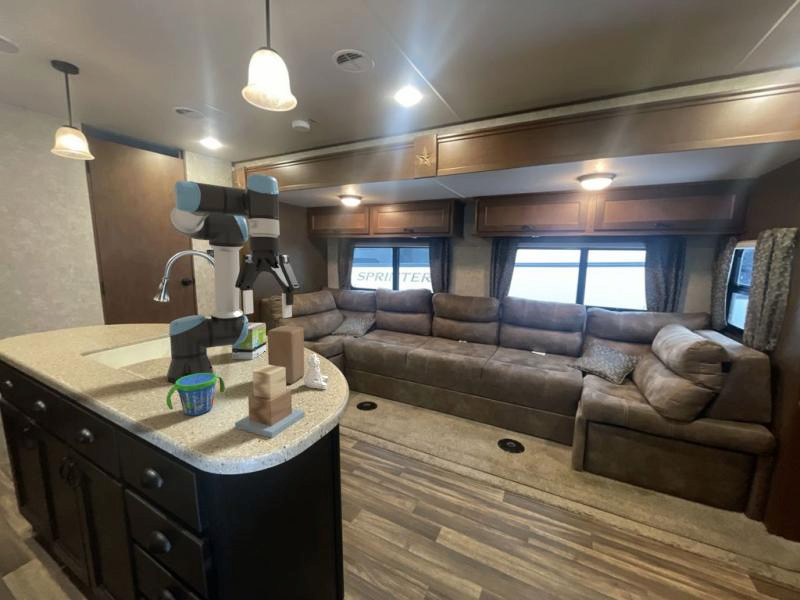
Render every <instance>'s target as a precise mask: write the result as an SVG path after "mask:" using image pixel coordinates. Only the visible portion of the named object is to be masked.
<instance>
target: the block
mask: <svg viewBox="0 0 800 600" xmlns="http://www.w3.org/2000/svg"><path fill="white" fill-rule="evenodd" d="M266 335H267V356H268V357H267V358H268V361H267V363H268V365H274V366H280V367H285V368H286V384H290V385H292V384H294V383H295V382H297V381H298V380H300V379H301V378H303V377H305V344H304V343H305V342H304V341H305V338H304V336H305V335H304V327H302V326H293V325H280V326H278V327H274V328H272V329H269V330H267V332H266Z"/></svg>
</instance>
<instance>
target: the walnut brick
mask: <svg viewBox="0 0 800 600" xmlns="http://www.w3.org/2000/svg"><path fill="white" fill-rule="evenodd" d="M247 398H248V401H247V403H248V415H249V420H250V421H254V422H258V423H262V424H266V425H269V426H273V425H274V424H276V423H277V422H279V421H281V420H282V419H284V418H285V417H287V416H289V415H290V414H292V409H293V405H292V403H293V401H292V390H291V389H287V388H286V391H285V392H284V393H282V394H280V395H278V396H276V397H274V398H272V399H268V398H263V397H259V396H254V393H252V394H250V395H248V396H247Z"/></svg>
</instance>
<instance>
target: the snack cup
mask: <svg viewBox="0 0 800 600" xmlns="http://www.w3.org/2000/svg"><path fill="white" fill-rule="evenodd" d="M217 379H218V380H219V392H220V393H224V392H225V390H226V385H225V381H224V379H223V378H222V377H221V376H219V375H216V374H215V373H213V374H212V373H198V374H192V375H188V376H185V377H182V378H180V379H178V380H177V381H176V383H174V385H173V386H172V387H170V389H169V391H168V394H167V395H166V405H167V407H168V409H169V410H174V407H173V404H172V399H171V398H172V395H173V394H174V393H175V392H176V391H177V392H178V396H179V398H180V405H181V407H182V411H183V413H184V415H187V416H199V415H203V414H205V413H208V412H211V411H212V409H213V407H214V400H215V390H216V389H215V388H216V382H217Z"/></svg>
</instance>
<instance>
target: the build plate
mask: <svg viewBox="0 0 800 600" xmlns="http://www.w3.org/2000/svg"><path fill="white" fill-rule="evenodd" d="M305 415H306V414H305V411H304V410H299V409H296V408H292V414H290V415H289V416H287V417H285V418H284V419H282V420H281V421H279V422H277V423H276V424H274V425H273V426H269V425H266V424H262V423H258V422H254V421H250V420H249V414H247V416H245V417H243V418H241V419H239V420H236V422H234V427H235V429H239V430H241V431H245V432H250V433H253V434H256V435H257V434H258V435H260V436H265V437H268V438H272V439H273V438H274V437H276V436H277V435H279V434H280V433H282V432H284V431H285V430H286V429H288V428H289V427H290V426H291V427H292V425H294V424H296V423H297V422H298V421H300V420H302V419H303V418H304V417H305Z"/></svg>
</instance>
